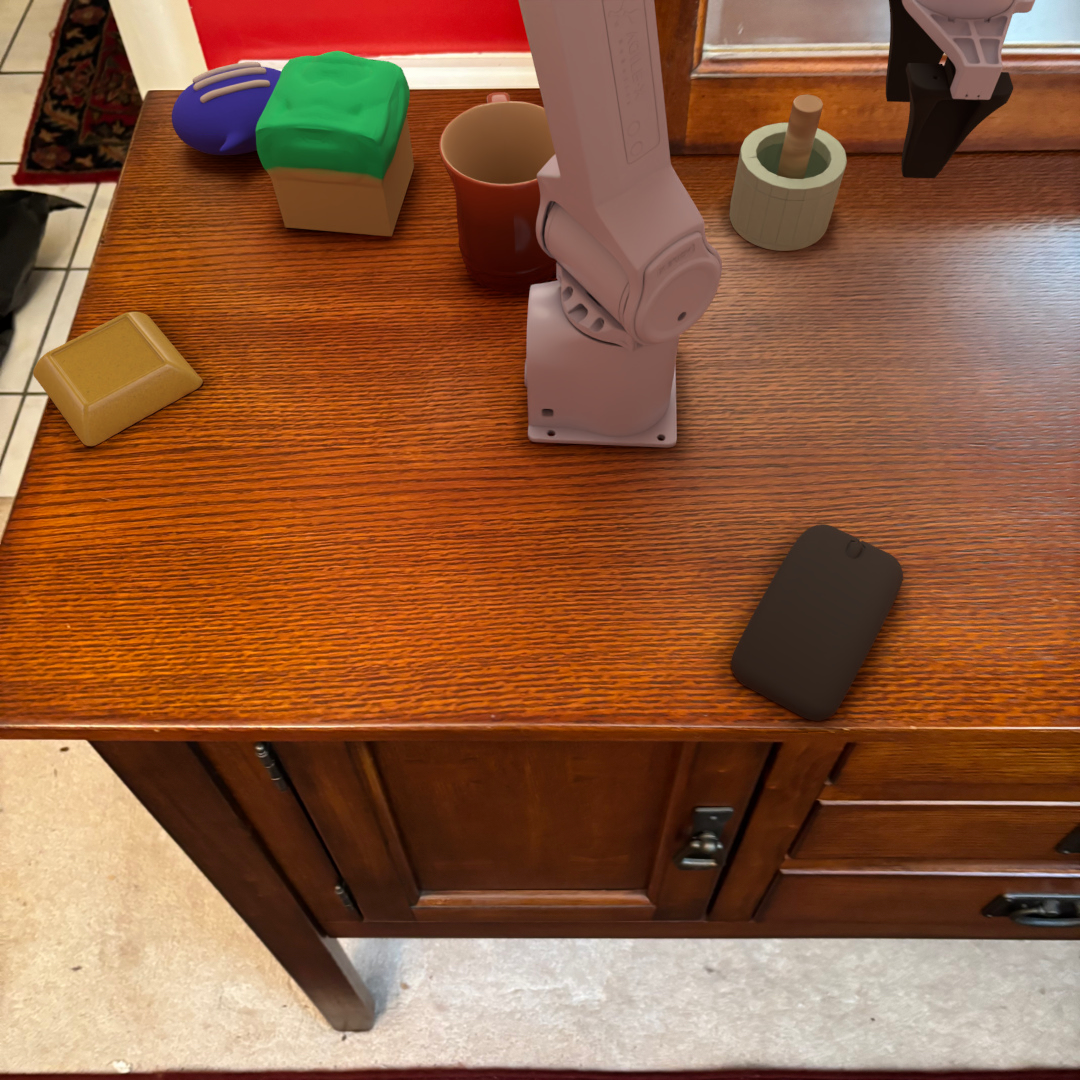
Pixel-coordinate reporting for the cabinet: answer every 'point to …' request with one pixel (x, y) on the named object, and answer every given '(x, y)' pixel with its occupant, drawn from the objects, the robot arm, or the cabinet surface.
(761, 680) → the computer mouse
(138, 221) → the cabinet surface
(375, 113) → the cake
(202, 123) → the decorative object
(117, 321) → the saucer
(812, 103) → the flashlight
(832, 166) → the jar
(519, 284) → the mug
